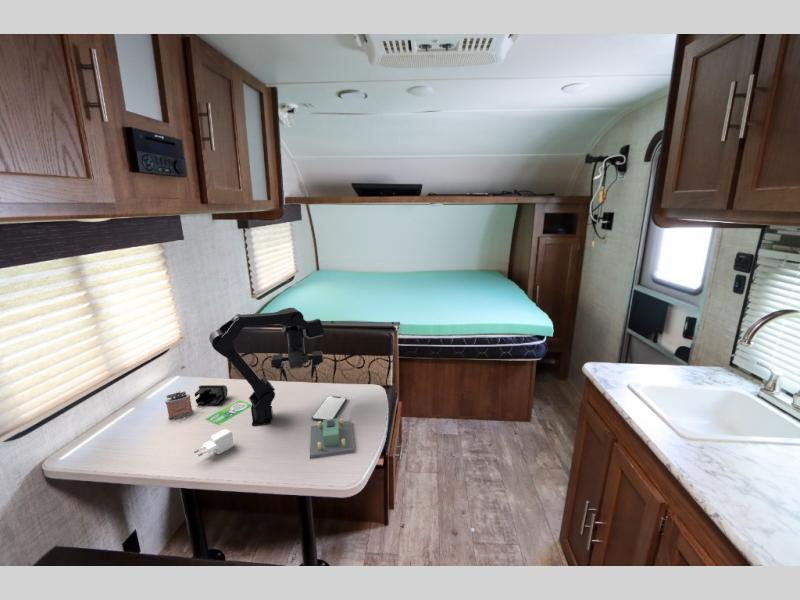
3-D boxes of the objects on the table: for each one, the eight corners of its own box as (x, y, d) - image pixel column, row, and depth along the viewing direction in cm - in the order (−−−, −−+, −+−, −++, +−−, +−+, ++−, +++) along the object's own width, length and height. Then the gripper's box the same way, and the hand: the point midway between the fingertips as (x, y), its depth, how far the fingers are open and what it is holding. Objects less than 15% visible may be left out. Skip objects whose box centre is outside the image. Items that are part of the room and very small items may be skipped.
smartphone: (333, 424, 133) (348, 400, 148) (332, 420, 133) (347, 397, 148) (310, 422, 135) (327, 398, 150) (310, 418, 135) (327, 395, 150)
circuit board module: (324, 446, 119) (323, 434, 118) (324, 430, 127) (323, 418, 126) (339, 444, 120) (338, 432, 119) (338, 428, 128) (337, 417, 127)
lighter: (192, 409, 143) (188, 387, 140) (193, 414, 140) (189, 390, 137) (168, 416, 138) (163, 393, 136) (169, 421, 136) (164, 397, 133)
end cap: (228, 397, 152) (226, 382, 150) (220, 406, 145) (217, 391, 143) (205, 397, 152) (202, 382, 150) (195, 406, 145) (192, 391, 143)
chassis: (309, 458, 115) (308, 448, 114) (311, 428, 130) (310, 419, 129) (354, 451, 118) (353, 442, 117) (350, 423, 133) (350, 414, 132)
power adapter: (201, 466, 112) (198, 450, 111) (194, 460, 115) (191, 444, 114) (235, 447, 121) (233, 431, 119) (228, 441, 124) (225, 426, 122)
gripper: (266, 352, 127) (271, 392, 131) (321, 347, 130) (324, 386, 135) (270, 340, 137) (275, 378, 142) (321, 336, 141) (324, 373, 145)
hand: (299, 379), depth 140 cm, fingers open, 9 cm apart
